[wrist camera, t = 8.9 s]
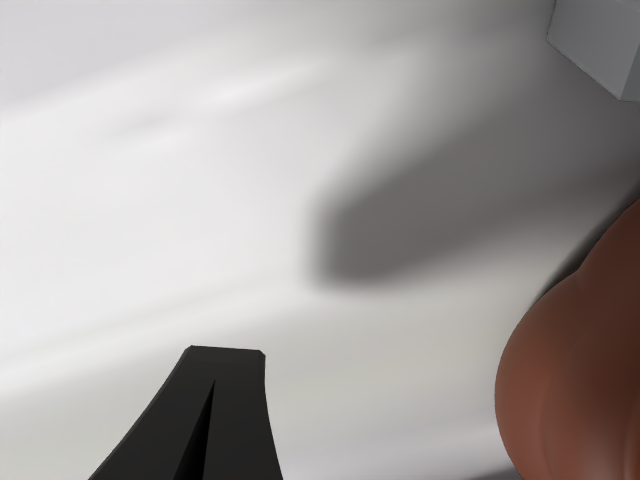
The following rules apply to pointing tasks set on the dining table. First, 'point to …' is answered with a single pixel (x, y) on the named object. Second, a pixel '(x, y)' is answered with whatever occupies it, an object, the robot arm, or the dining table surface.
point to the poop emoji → (578, 369)
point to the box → (601, 41)
